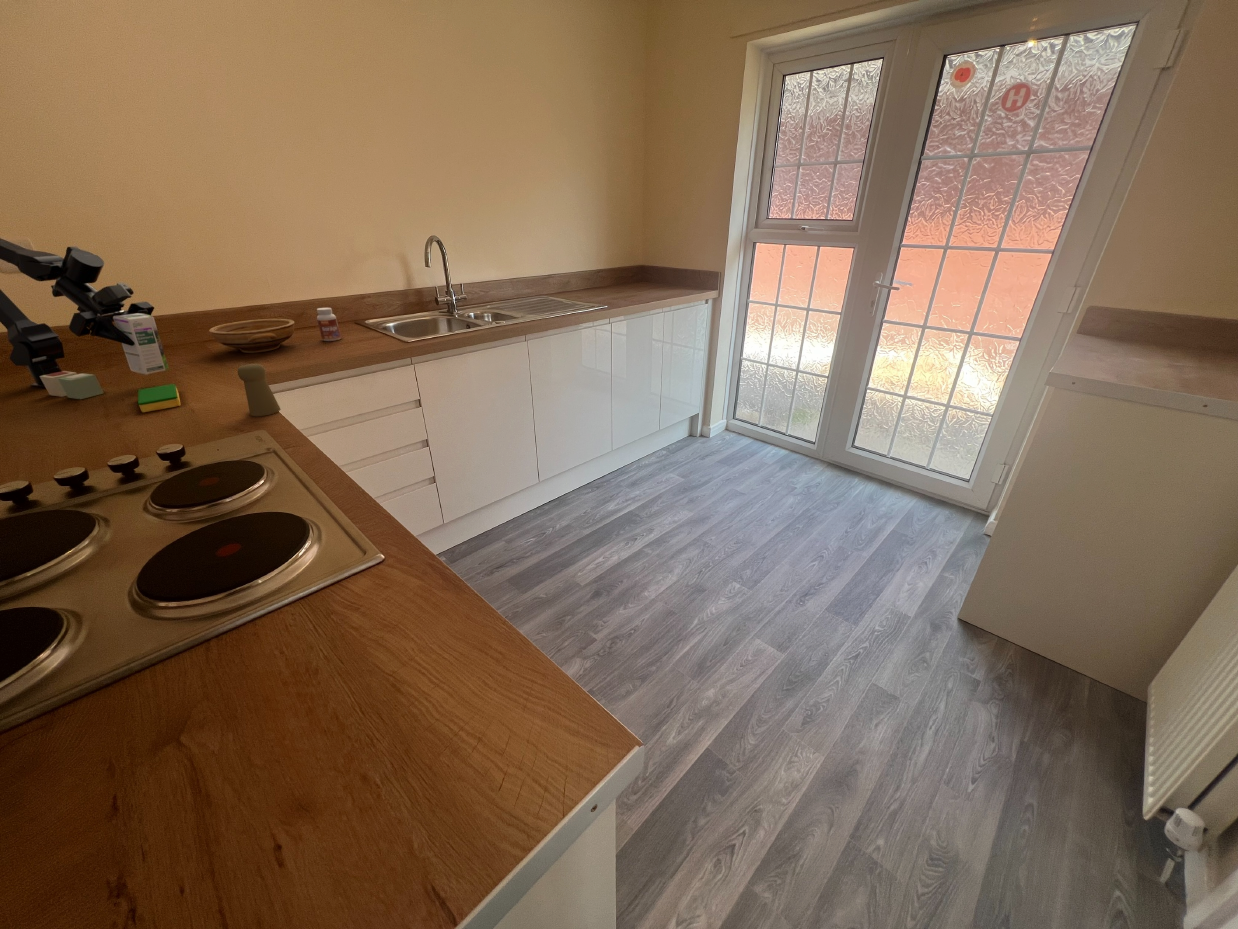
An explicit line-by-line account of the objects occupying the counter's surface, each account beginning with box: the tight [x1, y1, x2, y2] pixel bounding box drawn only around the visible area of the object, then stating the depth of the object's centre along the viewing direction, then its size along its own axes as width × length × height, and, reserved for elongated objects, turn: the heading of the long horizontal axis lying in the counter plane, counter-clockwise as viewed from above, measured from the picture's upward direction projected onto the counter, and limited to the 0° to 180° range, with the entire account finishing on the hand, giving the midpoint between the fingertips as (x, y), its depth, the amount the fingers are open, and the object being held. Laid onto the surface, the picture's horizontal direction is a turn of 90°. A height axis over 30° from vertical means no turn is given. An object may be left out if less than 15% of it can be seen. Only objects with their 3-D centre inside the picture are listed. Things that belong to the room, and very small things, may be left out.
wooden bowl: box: [208, 318, 295, 354], centre depth 171 cm, size 30×24×8 cm
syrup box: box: [113, 313, 170, 376], centre depth 131 cm, size 6×6×14 cm
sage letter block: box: [59, 372, 104, 400], centre depth 127 cm, size 5×5×5 cm
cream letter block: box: [40, 370, 78, 398], centre depth 129 cm, size 5×5×5 cm
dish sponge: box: [137, 383, 182, 413], centre depth 122 cm, size 7×14×2 cm, turn 40°
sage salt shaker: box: [237, 363, 281, 417], centre depth 113 cm, size 6×6×11 cm
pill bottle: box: [316, 307, 342, 342], centre depth 181 cm, size 6×6×11 cm
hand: (145, 341), depth 130 cm, fingers closed on syrup box, 6 cm apart
